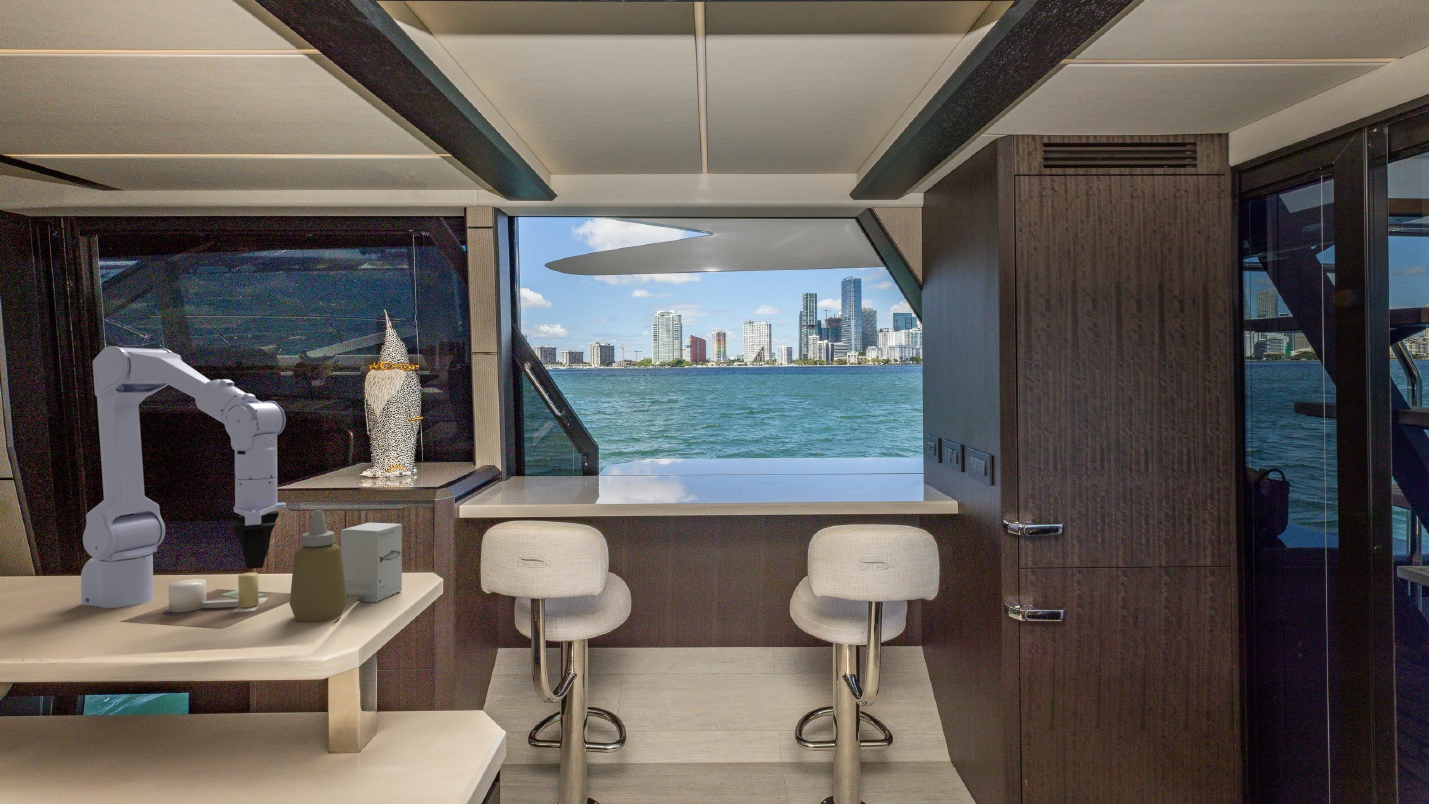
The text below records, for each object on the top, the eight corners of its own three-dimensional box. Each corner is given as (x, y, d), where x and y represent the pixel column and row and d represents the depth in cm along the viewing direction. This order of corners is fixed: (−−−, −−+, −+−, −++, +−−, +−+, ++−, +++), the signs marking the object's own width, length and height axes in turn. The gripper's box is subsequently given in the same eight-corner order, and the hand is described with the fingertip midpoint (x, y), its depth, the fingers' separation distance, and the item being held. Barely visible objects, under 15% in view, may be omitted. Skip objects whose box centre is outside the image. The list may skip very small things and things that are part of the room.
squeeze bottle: (358, 618, 118) (358, 508, 118) (317, 634, 111) (316, 516, 110) (320, 613, 121) (319, 505, 121) (277, 628, 113) (276, 513, 113)
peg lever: (162, 613, 116) (161, 581, 116) (179, 603, 121) (178, 573, 121) (251, 609, 118) (251, 578, 118) (264, 599, 123) (264, 570, 123)
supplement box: (377, 603, 127) (376, 531, 126) (339, 600, 128) (339, 529, 128) (403, 591, 134) (403, 523, 133) (367, 589, 135) (367, 521, 135)
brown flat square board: (120, 629, 113) (120, 620, 113) (218, 595, 131) (218, 588, 130) (222, 636, 110) (222, 627, 110) (308, 601, 128) (308, 593, 128)
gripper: (283, 481, 111) (284, 569, 112) (287, 471, 124) (288, 550, 125) (228, 484, 108) (229, 575, 108) (238, 473, 121) (239, 554, 121)
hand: (257, 562), depth 116 cm, fingers open, 7 cm apart
